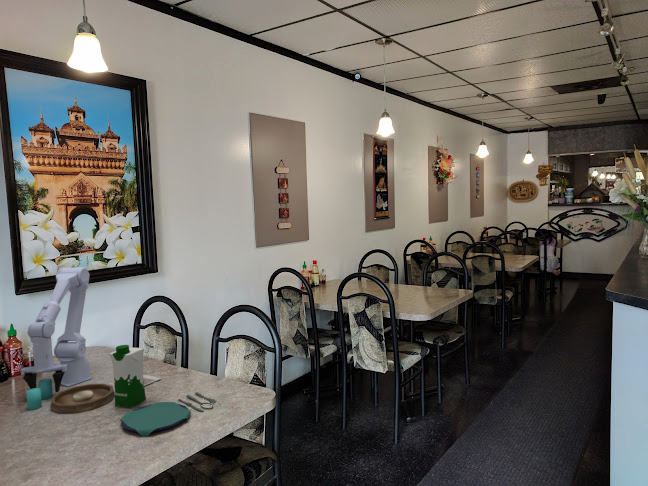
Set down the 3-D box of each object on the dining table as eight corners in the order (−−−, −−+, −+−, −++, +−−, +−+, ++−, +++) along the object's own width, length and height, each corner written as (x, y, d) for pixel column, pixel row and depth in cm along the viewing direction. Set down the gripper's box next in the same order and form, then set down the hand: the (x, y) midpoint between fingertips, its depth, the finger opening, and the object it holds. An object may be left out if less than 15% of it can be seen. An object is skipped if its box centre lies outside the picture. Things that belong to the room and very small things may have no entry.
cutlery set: (109, 423, 146) (109, 415, 146) (195, 394, 168) (195, 388, 168) (140, 444, 133) (139, 436, 132) (229, 410, 155) (228, 403, 154)
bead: (37, 404, 162) (36, 387, 162) (44, 406, 160) (42, 389, 160) (25, 408, 159) (24, 391, 158) (31, 411, 157) (30, 393, 156)
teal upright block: (49, 393, 171) (47, 377, 171) (55, 395, 169) (53, 379, 169) (37, 397, 168) (36, 381, 167) (43, 400, 166) (42, 383, 165)
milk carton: (110, 406, 158) (106, 347, 157) (129, 396, 167) (126, 340, 165) (131, 409, 155) (127, 349, 154) (150, 398, 164) (146, 341, 162)
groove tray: (93, 386, 177) (92, 380, 177) (126, 396, 167) (126, 389, 166) (38, 406, 160) (38, 399, 160) (72, 418, 150) (71, 410, 150)
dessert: (135, 392, 172) (134, 379, 171) (114, 386, 178) (113, 374, 177) (161, 381, 182) (161, 368, 182) (140, 376, 188) (139, 364, 188)
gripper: (15, 359, 162) (18, 398, 163) (60, 356, 164) (63, 394, 165) (25, 353, 169) (28, 390, 170) (68, 350, 171) (71, 387, 172)
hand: (46, 392), depth 168 cm, fingers open, 7 cm apart
